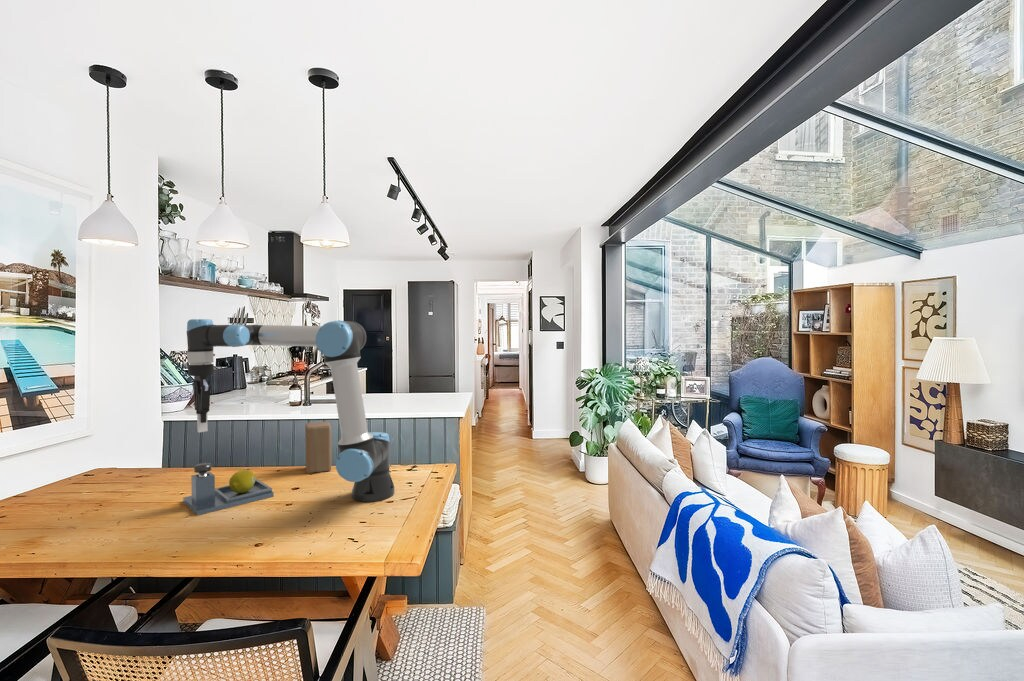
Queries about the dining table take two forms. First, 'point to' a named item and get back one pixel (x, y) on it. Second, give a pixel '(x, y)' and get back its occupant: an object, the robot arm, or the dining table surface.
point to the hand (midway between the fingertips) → (202, 431)
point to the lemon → (242, 481)
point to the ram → (202, 469)
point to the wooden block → (318, 447)
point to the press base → (221, 495)
